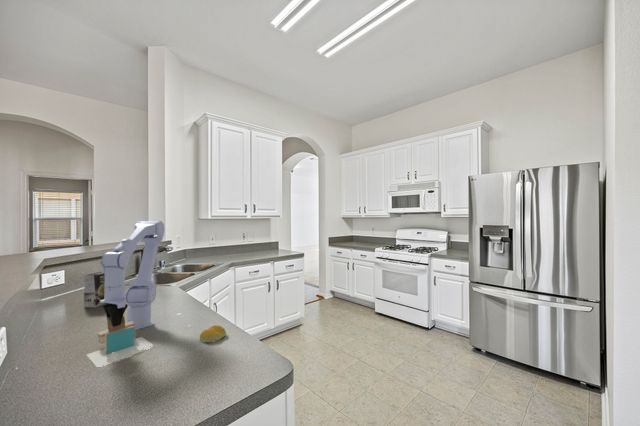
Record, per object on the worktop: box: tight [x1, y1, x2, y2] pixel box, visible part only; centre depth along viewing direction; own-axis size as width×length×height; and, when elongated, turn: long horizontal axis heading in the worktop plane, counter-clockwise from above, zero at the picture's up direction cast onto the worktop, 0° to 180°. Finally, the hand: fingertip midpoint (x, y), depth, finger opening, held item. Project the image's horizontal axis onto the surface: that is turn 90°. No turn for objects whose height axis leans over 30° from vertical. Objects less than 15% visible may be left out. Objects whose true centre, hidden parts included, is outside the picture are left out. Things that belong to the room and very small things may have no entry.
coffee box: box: [83, 271, 105, 308], centre depth 137 cm, size 9×6×16 cm
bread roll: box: [199, 324, 227, 343], centre depth 100 cm, size 8×9×4 cm
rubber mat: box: [86, 336, 154, 368], centre depth 90 cm, size 13×16×1 cm
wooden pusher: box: [97, 315, 135, 345], centre depth 95 cm, size 4×10×7 cm, turn 143°
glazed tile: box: [104, 326, 136, 354], centre depth 91 cm, size 2×8×6 cm, turn 143°
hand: (114, 324), depth 95 cm, fingers closed on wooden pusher, 4 cm apart
